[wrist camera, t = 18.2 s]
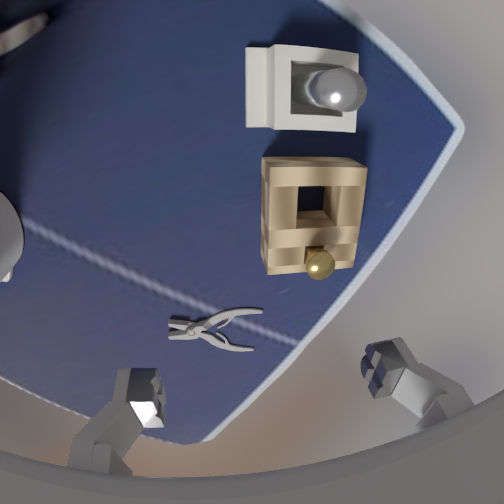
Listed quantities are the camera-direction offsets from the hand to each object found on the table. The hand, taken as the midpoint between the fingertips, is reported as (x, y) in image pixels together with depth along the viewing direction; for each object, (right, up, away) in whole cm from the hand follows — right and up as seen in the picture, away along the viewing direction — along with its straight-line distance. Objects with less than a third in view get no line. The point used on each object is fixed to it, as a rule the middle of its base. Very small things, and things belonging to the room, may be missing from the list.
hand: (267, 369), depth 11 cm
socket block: (+7, +11, +31) cm, 33 cm away
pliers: (-7, -8, +40) cm, 42 cm away
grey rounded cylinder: (+6, +24, +22) cm, 33 cm away
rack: (+6, +24, +23) cm, 34 cm away
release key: (+7, +7, +33) cm, 34 cm away
